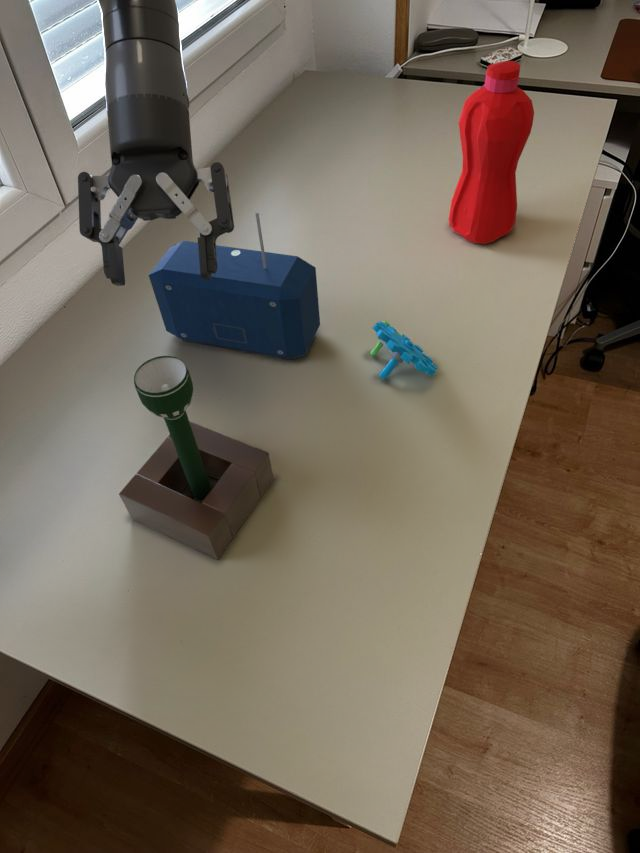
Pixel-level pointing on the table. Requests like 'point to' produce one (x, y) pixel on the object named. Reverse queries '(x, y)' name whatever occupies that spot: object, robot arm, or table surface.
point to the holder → (222, 508)
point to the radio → (239, 299)
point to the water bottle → (491, 155)
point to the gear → (400, 350)
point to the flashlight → (174, 413)
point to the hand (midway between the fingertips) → (162, 281)
